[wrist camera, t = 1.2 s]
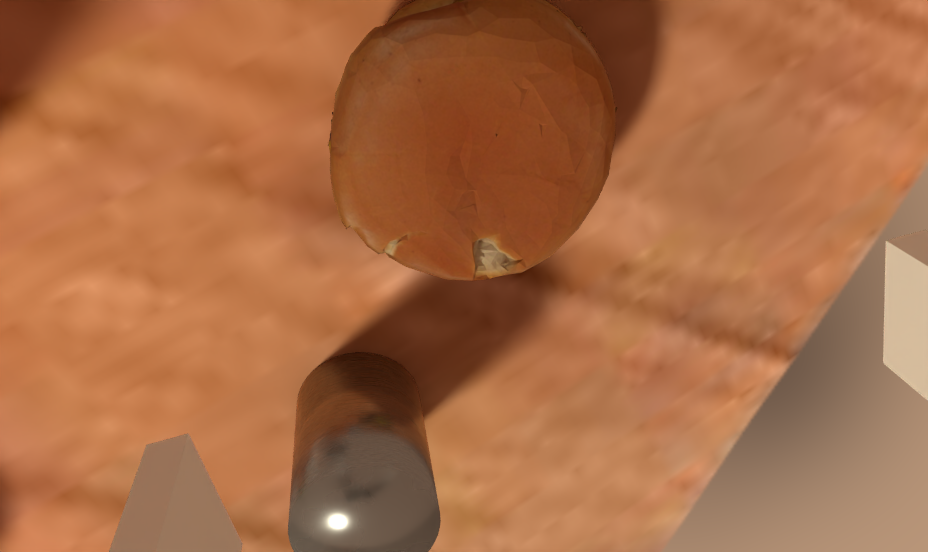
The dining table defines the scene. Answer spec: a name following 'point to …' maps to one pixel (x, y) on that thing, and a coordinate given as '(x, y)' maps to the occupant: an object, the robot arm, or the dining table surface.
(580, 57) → the burger
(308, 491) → the grey tin
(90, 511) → the dining table surface
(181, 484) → the robot arm
